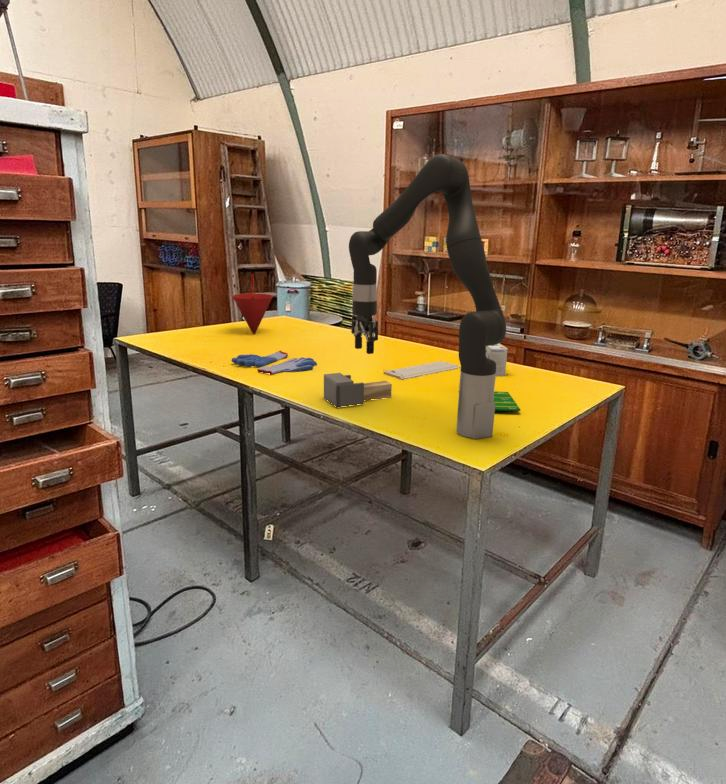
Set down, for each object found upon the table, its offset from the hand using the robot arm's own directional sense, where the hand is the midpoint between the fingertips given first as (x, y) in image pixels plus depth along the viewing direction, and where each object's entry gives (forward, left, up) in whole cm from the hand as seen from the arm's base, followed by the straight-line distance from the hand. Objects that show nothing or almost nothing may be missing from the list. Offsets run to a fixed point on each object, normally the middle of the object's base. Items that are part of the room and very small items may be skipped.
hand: (364, 351), depth 180 cm
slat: (0, 0, -16) cm, 16 cm away
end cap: (0, +7, -16) cm, 17 cm away
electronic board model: (-15, -38, -16) cm, 44 cm away
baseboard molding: (+24, -37, -17) cm, 48 cm away
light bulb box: (+13, -61, -16) cm, 65 cm away
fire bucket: (+118, +5, -16) cm, 119 cm away
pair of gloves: (+54, +13, -17) cm, 58 cm away
